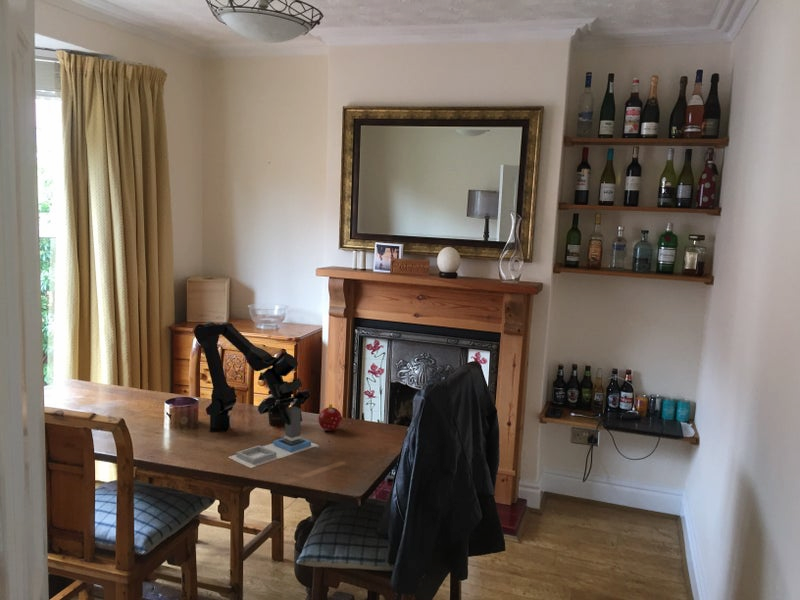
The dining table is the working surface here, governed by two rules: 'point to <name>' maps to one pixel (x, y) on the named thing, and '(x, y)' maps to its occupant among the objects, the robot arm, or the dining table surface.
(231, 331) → the robot arm
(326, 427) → the christmas ornament
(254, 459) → the board
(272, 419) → the coffee mug
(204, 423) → the dining table surface
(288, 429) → the plug
